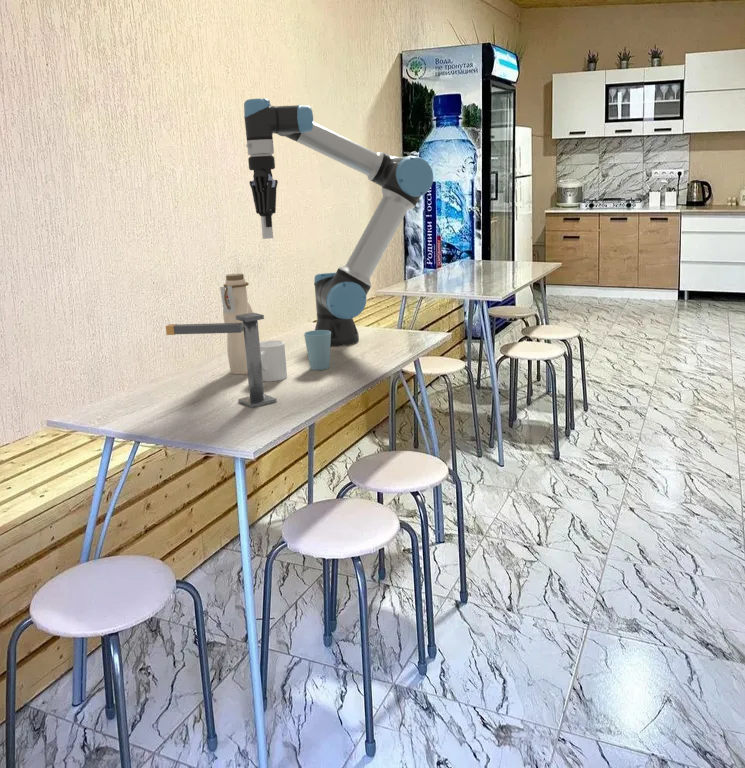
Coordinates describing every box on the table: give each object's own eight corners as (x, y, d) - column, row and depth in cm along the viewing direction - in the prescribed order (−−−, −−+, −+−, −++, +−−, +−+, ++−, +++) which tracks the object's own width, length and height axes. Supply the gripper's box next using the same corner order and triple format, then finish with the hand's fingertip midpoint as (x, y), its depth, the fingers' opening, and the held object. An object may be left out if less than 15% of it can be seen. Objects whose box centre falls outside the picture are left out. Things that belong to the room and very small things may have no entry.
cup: (304, 371, 224) (301, 335, 222) (309, 364, 232) (307, 330, 229) (330, 371, 223) (328, 335, 221) (334, 364, 231) (332, 329, 228)
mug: (248, 385, 212) (244, 350, 210) (264, 374, 224) (261, 340, 221) (276, 385, 211) (273, 350, 208) (290, 374, 222) (288, 340, 219)
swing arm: (243, 330, 193) (242, 322, 193) (240, 333, 191) (239, 324, 190) (170, 332, 196) (169, 324, 195) (166, 335, 193) (165, 326, 193)
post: (263, 396, 201) (255, 311, 195) (276, 401, 196) (269, 314, 190) (238, 402, 197) (230, 315, 191) (251, 407, 192) (243, 319, 186)
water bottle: (252, 376, 222) (242, 277, 214) (222, 376, 224) (212, 277, 216) (264, 367, 232) (255, 272, 224) (235, 367, 233) (225, 272, 226)
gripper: (239, 157, 230) (246, 238, 236) (260, 155, 220) (267, 240, 226) (261, 156, 234) (268, 236, 240) (283, 154, 224) (290, 238, 230)
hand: (267, 238), depth 233 cm, fingers closed
